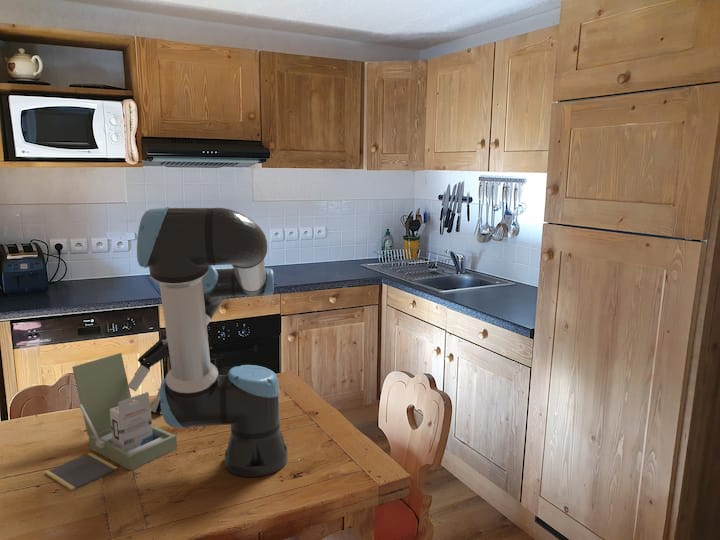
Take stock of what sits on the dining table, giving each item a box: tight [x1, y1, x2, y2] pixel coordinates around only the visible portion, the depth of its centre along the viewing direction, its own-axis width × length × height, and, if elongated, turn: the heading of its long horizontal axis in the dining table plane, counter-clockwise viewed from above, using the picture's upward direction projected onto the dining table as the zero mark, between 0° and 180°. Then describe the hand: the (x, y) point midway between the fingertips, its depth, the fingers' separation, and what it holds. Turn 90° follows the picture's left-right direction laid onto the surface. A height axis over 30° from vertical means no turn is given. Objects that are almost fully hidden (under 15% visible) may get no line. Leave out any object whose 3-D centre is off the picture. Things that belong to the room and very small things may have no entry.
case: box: [71, 352, 178, 471], centre depth 141 cm, size 23×14×21 cm, turn 55°
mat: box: [44, 452, 119, 492], centre depth 131 cm, size 12×11×1 cm
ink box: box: [110, 391, 153, 452], centre depth 140 cm, size 8×5×15 cm, turn 141°
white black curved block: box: [150, 388, 162, 415], centre depth 168 cm, size 17×5×10 cm, turn 0°
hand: (146, 395), depth 144 cm, fingers open, 13 cm apart
